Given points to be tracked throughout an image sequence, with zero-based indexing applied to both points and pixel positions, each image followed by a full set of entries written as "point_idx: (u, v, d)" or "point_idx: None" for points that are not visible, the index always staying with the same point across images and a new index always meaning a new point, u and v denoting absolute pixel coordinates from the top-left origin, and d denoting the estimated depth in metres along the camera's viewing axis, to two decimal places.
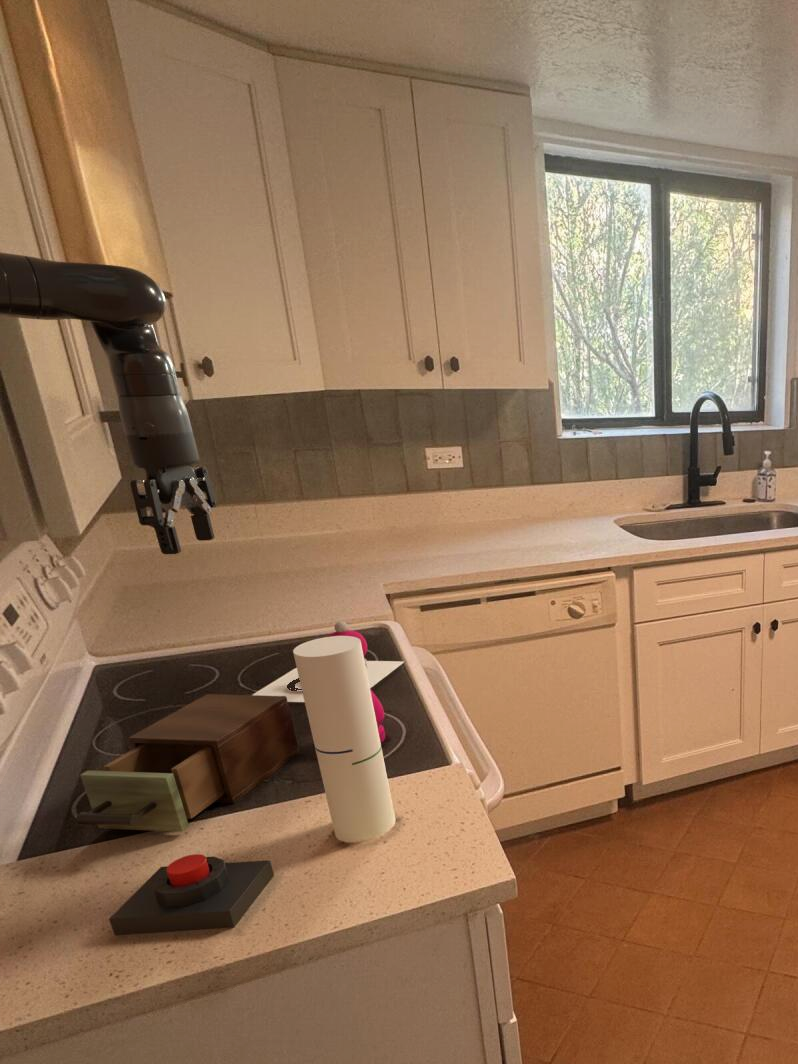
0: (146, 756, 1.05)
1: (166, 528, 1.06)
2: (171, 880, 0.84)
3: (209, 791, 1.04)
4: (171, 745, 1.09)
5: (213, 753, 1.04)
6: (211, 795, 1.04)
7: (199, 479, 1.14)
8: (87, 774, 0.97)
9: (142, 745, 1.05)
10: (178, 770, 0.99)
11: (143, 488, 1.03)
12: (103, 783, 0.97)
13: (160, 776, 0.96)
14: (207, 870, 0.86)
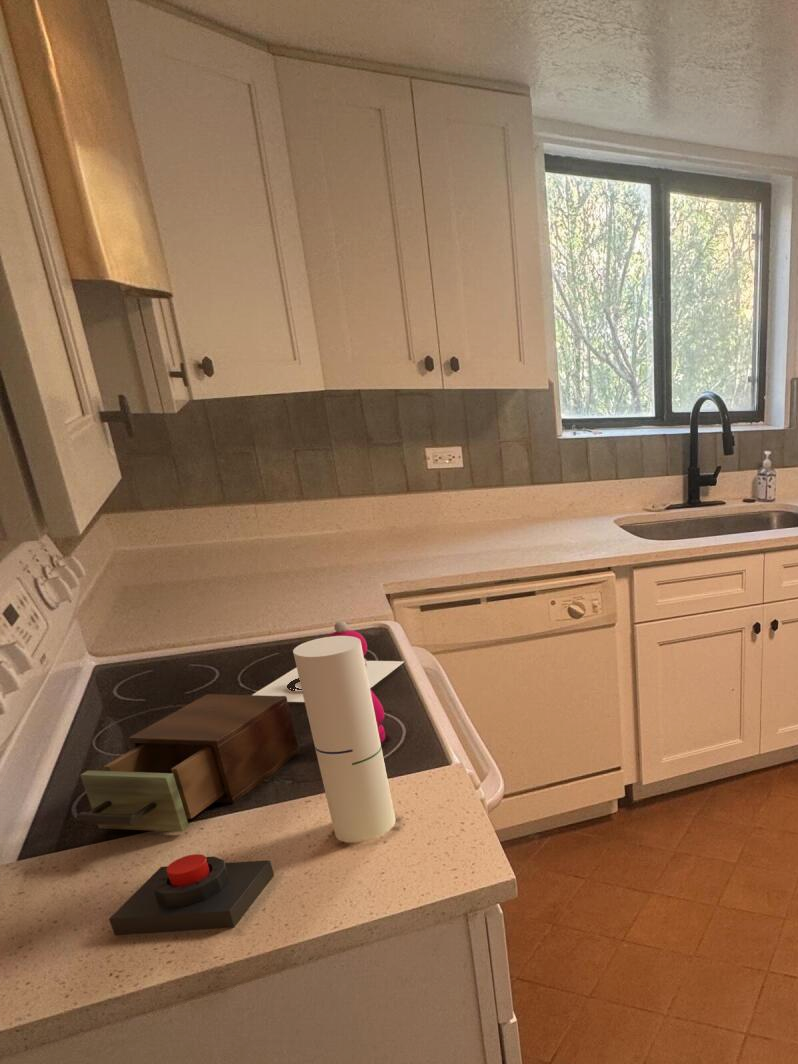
0: (146, 756, 1.05)
1: None
2: (171, 880, 0.84)
3: (209, 791, 1.04)
4: (171, 745, 1.09)
5: (213, 753, 1.04)
6: (211, 795, 1.04)
7: None
8: (87, 774, 0.97)
9: (142, 745, 1.05)
10: (178, 770, 0.99)
11: None
12: (103, 783, 0.97)
13: (160, 776, 0.96)
14: (207, 870, 0.86)
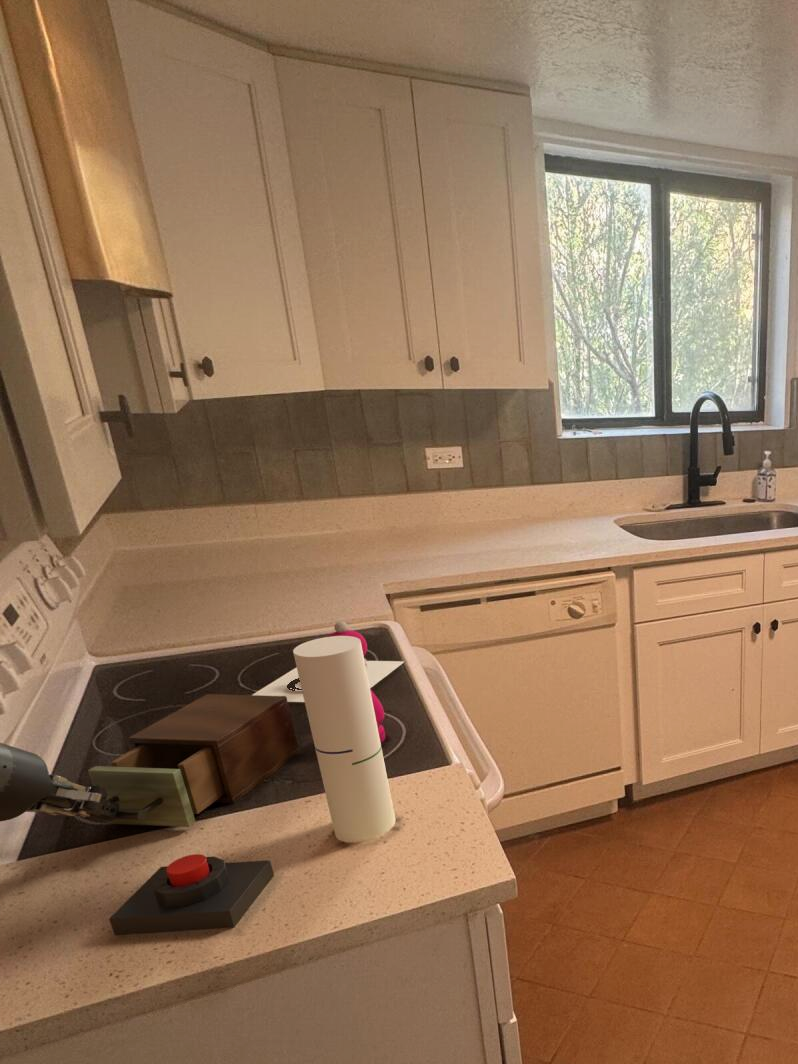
0: (153, 752, 1.06)
1: None
2: (171, 880, 0.84)
3: (215, 787, 1.05)
4: None
5: None
6: (217, 791, 1.05)
7: (80, 803, 0.86)
8: (95, 770, 0.98)
9: None
10: (184, 766, 1.00)
11: None
12: (111, 778, 0.98)
13: (167, 771, 0.97)
14: (207, 870, 0.86)
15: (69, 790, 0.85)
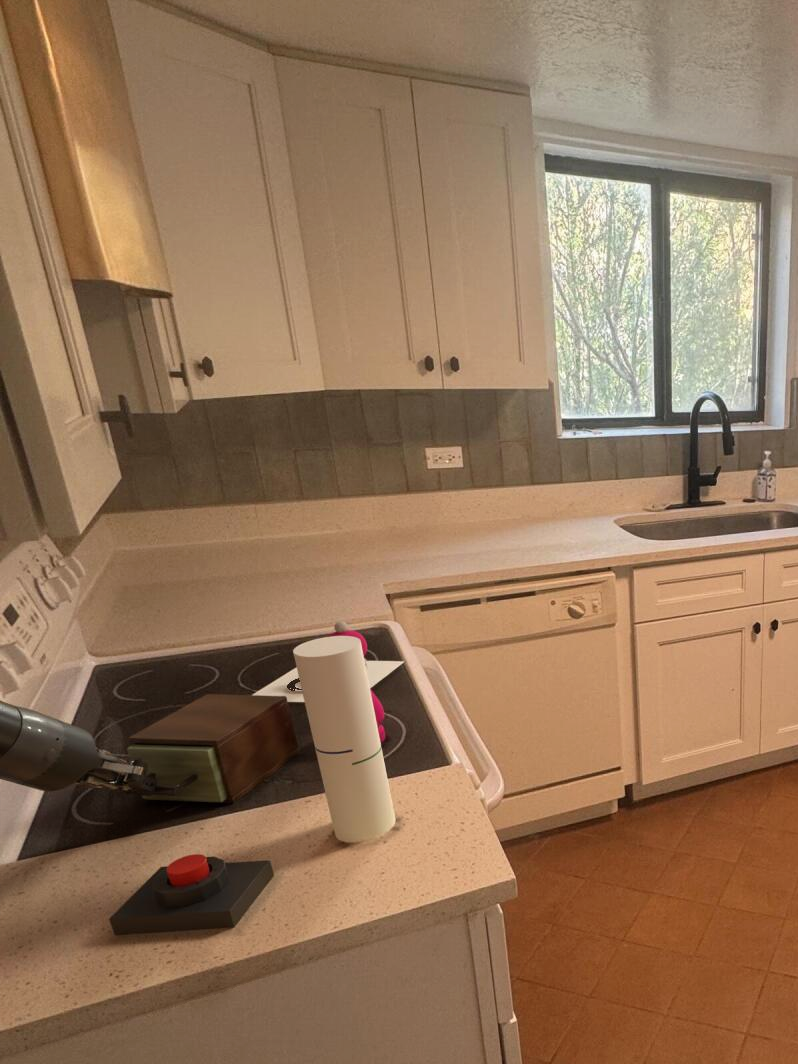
0: None
1: None
2: (171, 880, 0.84)
3: None
4: None
5: None
6: None
7: (124, 776, 0.92)
8: (133, 748, 1.03)
9: None
10: None
11: None
12: (148, 756, 1.03)
13: (202, 749, 1.03)
14: (207, 870, 0.86)
15: (114, 763, 0.91)
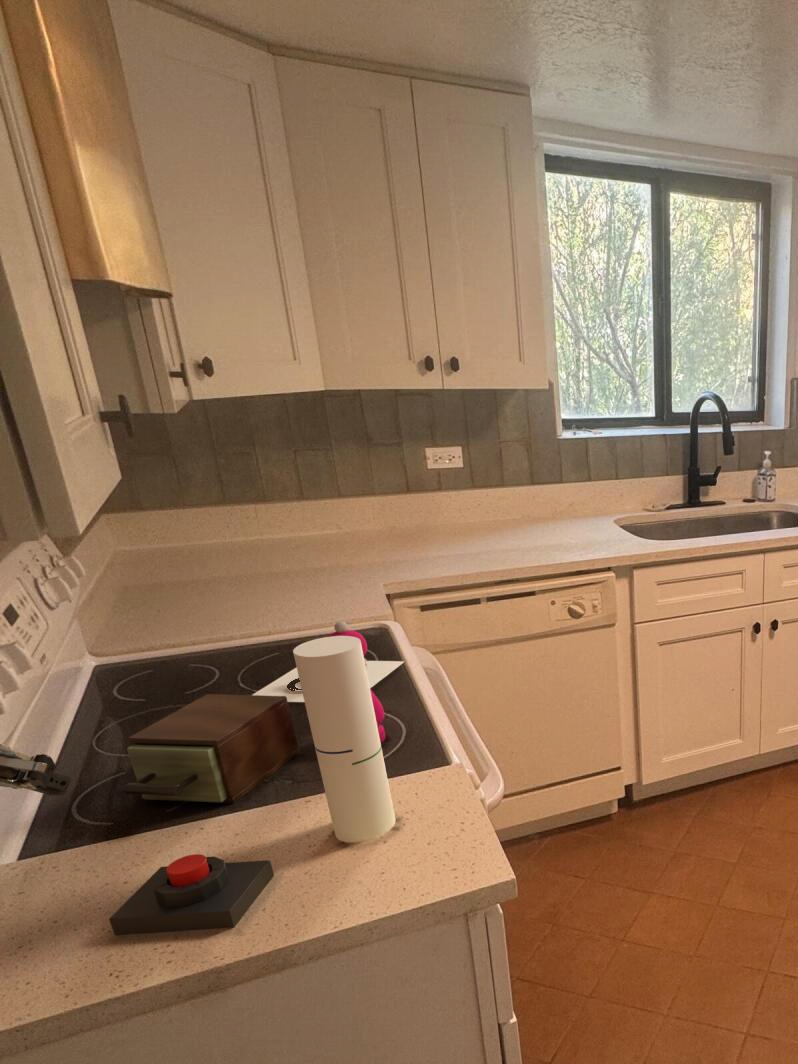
0: None
1: None
2: (171, 880, 0.84)
3: None
4: None
5: None
6: None
7: (23, 774, 0.80)
8: (133, 748, 1.03)
9: None
10: None
11: None
12: (148, 756, 1.03)
13: (202, 749, 1.03)
14: (207, 870, 0.86)
15: (11, 759, 0.79)
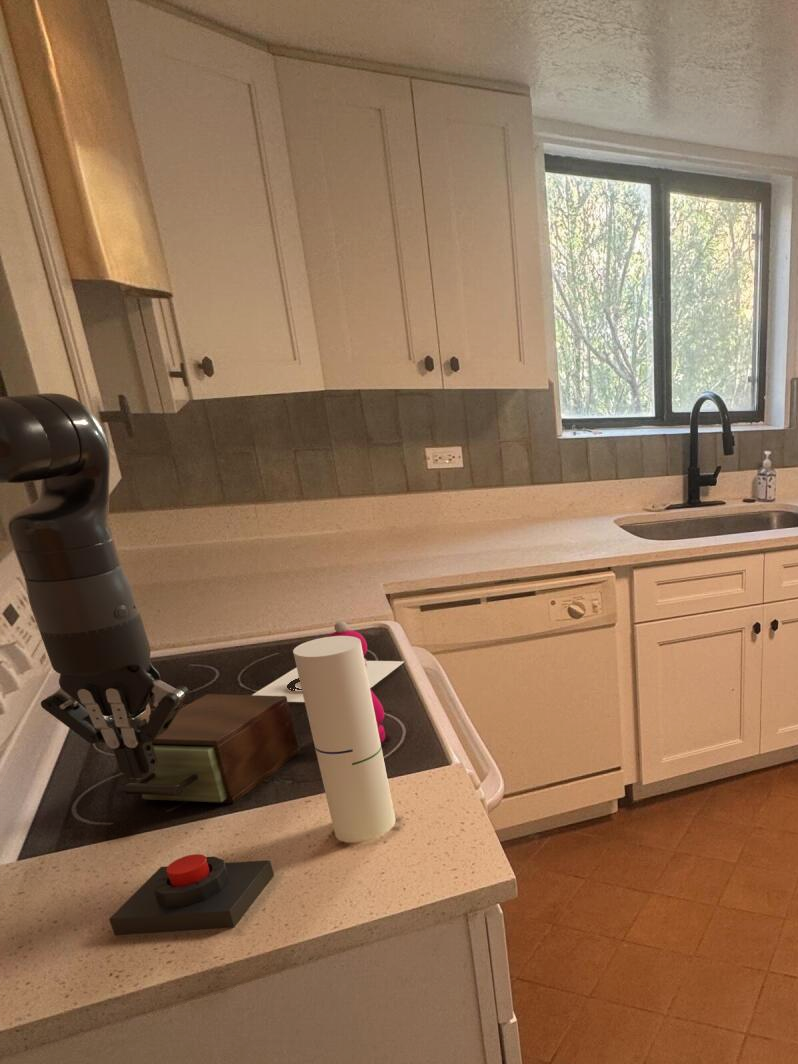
0: None
1: None
2: (171, 880, 0.84)
3: None
4: None
5: None
6: None
7: (156, 700, 0.77)
8: None
9: None
10: None
11: None
12: None
13: (202, 749, 1.03)
14: (207, 870, 0.86)
15: (157, 679, 0.77)
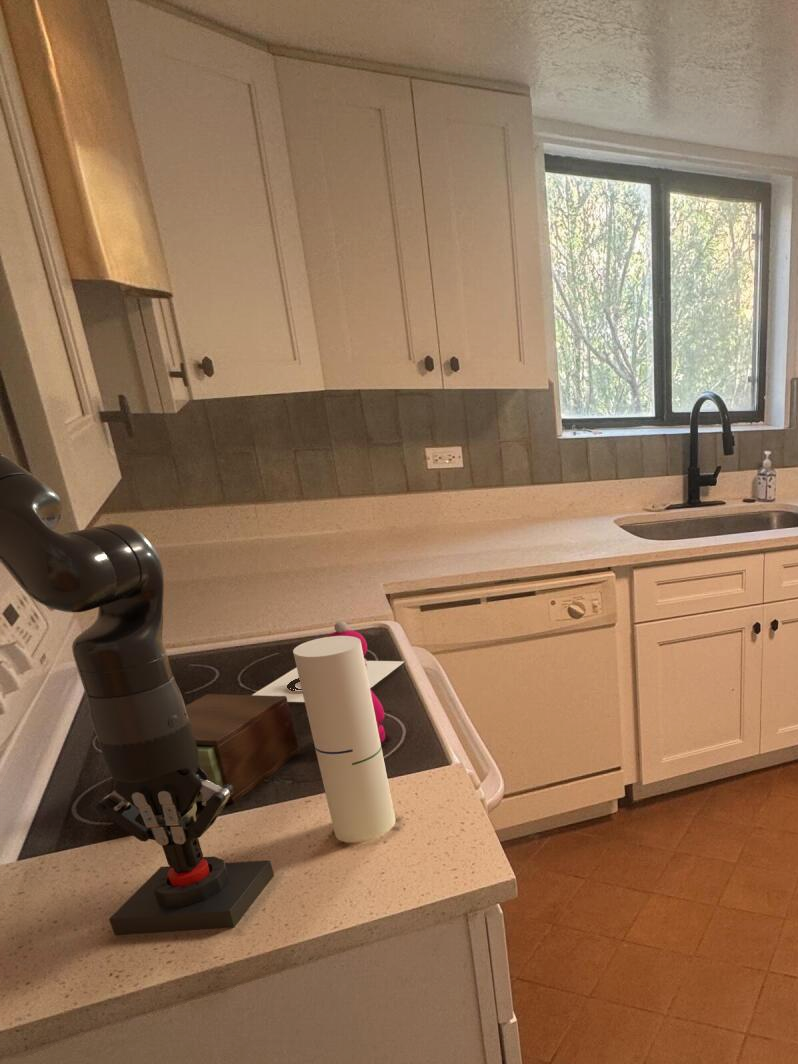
0: None
1: None
2: (172, 884, 0.84)
3: None
4: None
5: None
6: None
7: (204, 800, 0.82)
8: None
9: None
10: None
11: None
12: None
13: (202, 749, 1.03)
14: (208, 874, 0.86)
15: (205, 779, 0.82)
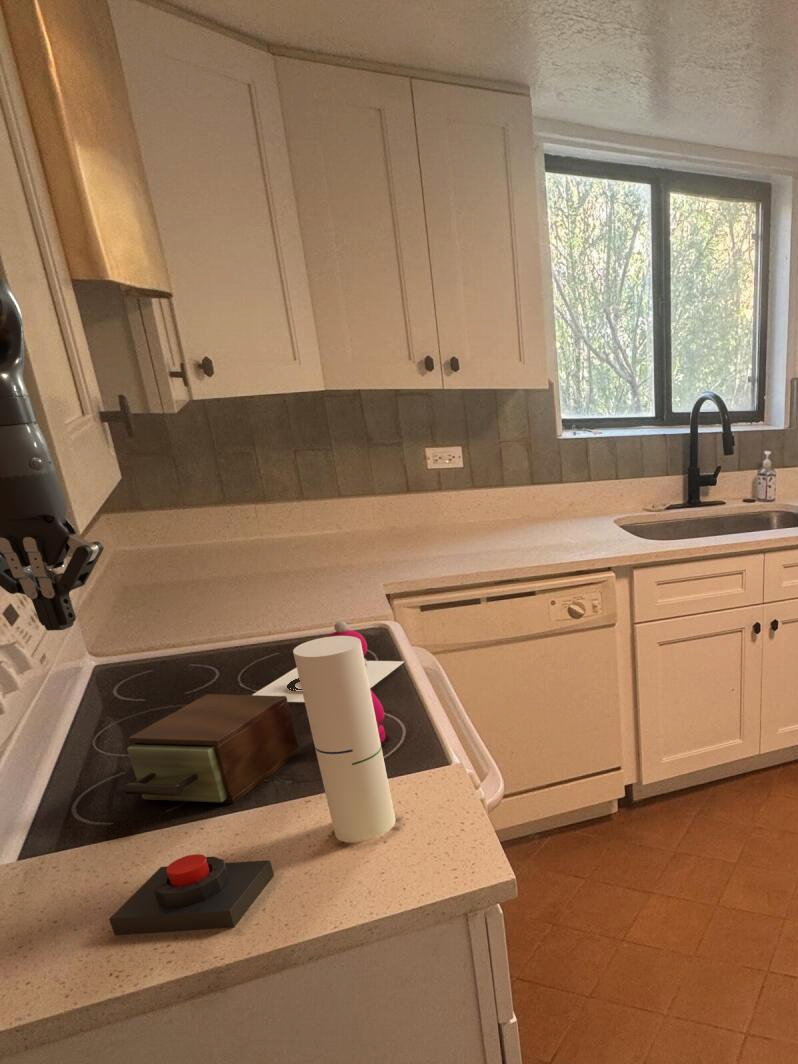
0: None
1: (33, 598, 0.85)
2: (171, 880, 0.84)
3: None
4: None
5: None
6: None
7: (71, 552, 0.83)
8: (133, 748, 1.03)
9: None
10: None
11: None
12: (148, 756, 1.03)
13: (202, 749, 1.03)
14: (207, 870, 0.86)
15: (73, 532, 0.84)
